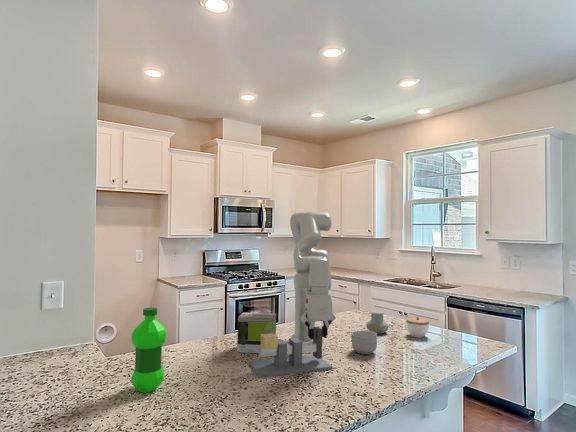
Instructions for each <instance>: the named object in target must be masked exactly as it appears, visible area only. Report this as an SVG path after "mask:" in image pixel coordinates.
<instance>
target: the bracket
mask: <svg viewBox="0 0 576 432" xmlns="http://www.w3.org/2000/svg"><path fill="white" fill-rule="evenodd" d="M288 339H289V341H288V342H289V343H287V341H285V340H284V339H283V338H278V355H277V356H273V358H267V359H255V360H254V359H253V360H248V364H249V366H250V367H251V368H252V370H253V371H254V372H255V375H257V377H258V378H265V377H276V376H284V375H292V374H293V375H294V374H303V373H311V372H318V371H319V372H320V371H327V370H328V371H330V370H333V366H332V365H331V364H330V363H329V362H327V361H326V360H325V359H324V358H323V357H322V358H320V359H317V358H315V357H314V356H313V354H307V355H303V353H302V341H300V340H299V339H298V338H291V337H290V338H288ZM290 343H292V344H293V345H294V354H288V355H287V344H290Z"/></svg>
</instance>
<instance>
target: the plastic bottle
mask: <svg viewBox="0 0 576 432" xmlns="http://www.w3.org/2000/svg"><path fill="white" fill-rule="evenodd" d="M142 310H143V311H142V316H144V320H142V321H141V322H140V323H139V324H138V325H137V326H136V327H134V329H133V331H132V333H131V342H132V343H131V344H132V345H133V346H134V347H135V356H134V357H135V358H134V369H133V373H132V376H131V381H130V383H131V384H132V386H133V387H134V388H136V390H138V391H139V392H140V393H152V392H153V391H155V390H157V388H159V386H161V385H162V383H163V381H164V376H165V371H164V369H163V366H162V351H163V349H162V348H163V344H164V343H165V342H166V338H167V328H166V326H164V325H163V324H162V323H161V322H159V321H158V320H157V319H156V316H157V315H158V308H157V307H145V308H143V309H142Z"/></svg>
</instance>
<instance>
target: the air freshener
mask: <svg viewBox="0 0 576 432" xmlns="http://www.w3.org/2000/svg"><path fill="white" fill-rule="evenodd" d="M365 326H366V329H367V330H370V331H372V332H375V333H377V335H378V334H383V333H386V332H387V331H388V330H389V324H388V323H387V321H385V320H384V312H382V311H380V310H379V311H378V310H373V311H371V319H370V320H368V321H367V322H366V325H365Z"/></svg>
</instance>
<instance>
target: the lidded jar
mask: <svg viewBox="0 0 576 432" xmlns="http://www.w3.org/2000/svg"><path fill="white" fill-rule="evenodd" d="M405 322H406V323H405V324H406V329H407V331H408V333H409V334H410V336H411V337H414V338H424V337H425V335H427V333H428V331H429V328H430V326H429V324H430V321H429V319H426V318H422V317H420V316H416V317H412V316H411V317H407V318H406V321H405Z"/></svg>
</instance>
